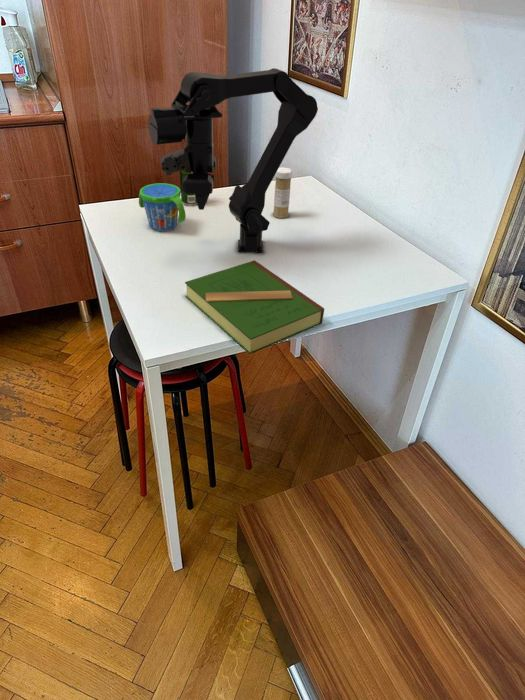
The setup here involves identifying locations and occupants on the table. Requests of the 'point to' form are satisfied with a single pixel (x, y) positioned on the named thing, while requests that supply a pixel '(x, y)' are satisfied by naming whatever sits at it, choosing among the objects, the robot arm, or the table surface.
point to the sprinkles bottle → (282, 192)
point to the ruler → (248, 296)
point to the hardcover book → (254, 306)
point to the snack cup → (162, 205)
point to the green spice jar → (186, 198)
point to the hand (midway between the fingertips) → (201, 209)
